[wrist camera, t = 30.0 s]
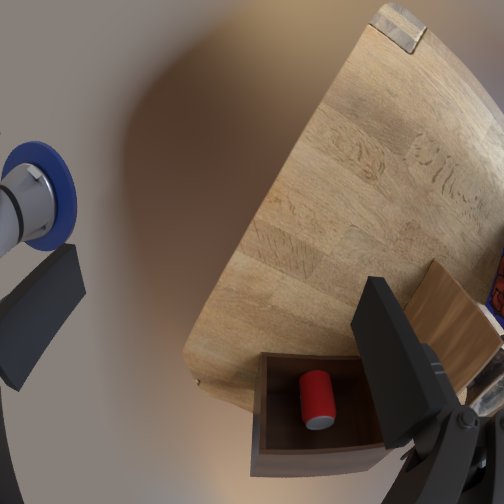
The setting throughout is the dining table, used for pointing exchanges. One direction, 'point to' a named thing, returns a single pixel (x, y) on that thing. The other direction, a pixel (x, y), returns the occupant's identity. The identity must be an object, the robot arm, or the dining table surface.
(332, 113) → the dining table surface
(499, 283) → the cereal box
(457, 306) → the cabinet door
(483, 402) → the bowl
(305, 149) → the dining table surface
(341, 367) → the cabinet
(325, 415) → the beverage can
